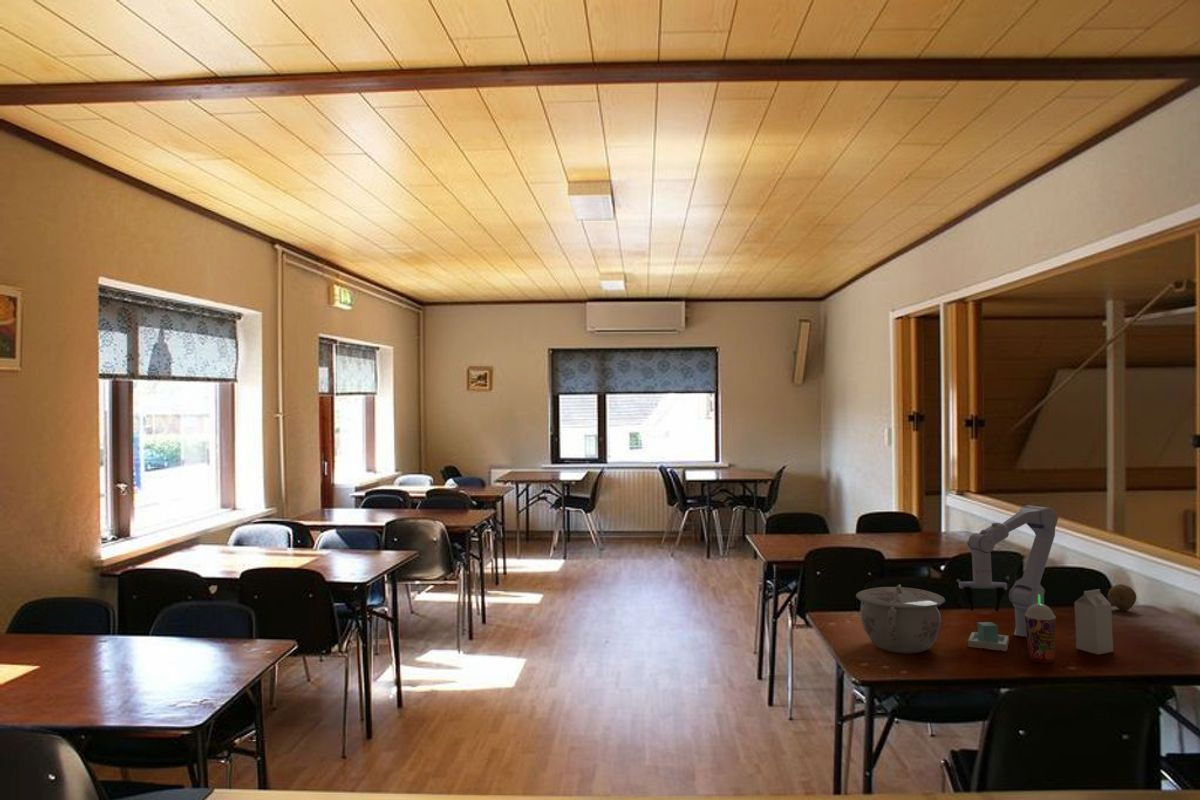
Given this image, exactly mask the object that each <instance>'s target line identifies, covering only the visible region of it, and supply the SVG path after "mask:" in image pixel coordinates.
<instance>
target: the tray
mask: <svg viewBox="0 0 1200 800" xmlns="http://www.w3.org/2000/svg"><path fill="white" fill-rule="evenodd" d="M1009 636H1010V635H1004V634H998V643H995V642H986V641H978V631H977V632H976V631H971V633H970V636H969V638H968V639H967V640H968V641H967V642H968V647H969V648H973V649H974V648H976V649H977V648H978V649H983V648H984V650H992V651H1000V650H1001V651H1003V652H1007V651H1008V648H1009V647H1008V646H1009V643H1010V641H1009V640H1010V639H1009V638H1010V637H1009ZM985 648H986V649H985Z"/></svg>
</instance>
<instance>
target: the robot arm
mask: <svg viewBox="0 0 1200 800" xmlns="http://www.w3.org/2000/svg"><path fill="white" fill-rule="evenodd" d="M1058 521H1059V516H1058V515H1057V513H1056V510H1054V508H1051V507H1048V506H1047V507H1045V506H1036V505H1032V504H1027V505H1024V506H1023V507H1021V508H1019V511H1018V512H1016V513H1015V514H1014V515H1012V516H1011V517H1009V518H1007V519H1006V520H1005V521H1004V522H1002V523H1001V522H992V523H991V524H990V526H988V527H987V528H985V529H981V530H980V532H975V533H972V534H971V535H969V537H968V541H967V542H966V543H967V544H966V545H967V547H968V548H969V549H970V554H971V560H972V561H971V563H972V566H971V567H972V581H971V580H970V581H958V588H959V589H962V591H963V593H964V595H965V597H966V600H967V602H968V606H969V610H970V611H974V604H973V590H972V589H981V590H982V589H986V590H987V589H988V590H989V589H991V590H993V597H994V598H993V600H994V607H993V608H994V611H995V612H999V609H1000V608H999V607H1000V603H1001V601H1002V598H1003V596H1004V594H1005V590H1008V583H1007V582H1001V581H993V573H992V571H993V570H992V554H991V552H993V550H994V548H995V546H996V545H997V544H1000V543H1001V542H1003V540H1005V539H1007V538H1008V537H1009V534H1010V532H1012V531H1014V530H1016V529H1018V528H1020V527H1022V526H1023V525H1027V526H1028V527H1029V529H1031V531H1033V532H1034V534H1035V537H1034V539H1033V543H1032V546H1031V548H1030V549H1031V550H1030V552H1029V555H1028V558H1027V562H1026V564H1025V568H1024V571H1023V574H1022V577H1021V578H1019V579H1017V580H1015V581H1014V583H1013V586H1012V587H1011V588H1010V590H1009V592H1008V599H1009V600H1010V602H1011V603H1012V605H1013V607H1014V616H1015V617H1014V619H1015V629H1014V633H1013V635H1014V636H1015V637H1026V638H1027V632H1026V623H1025V615H1024V614H1025V613H1026V611H1027V609H1028V608H1029V607H1030V606H1031V605H1033V604H1036V603H1038V595H1040V602H1041V604H1044V605H1045V592H1046V590H1045V588H1044V587H1043V586H1042V585H1041V582H1042V581H1041V580H1042V578H1043V575H1044V572H1045V568H1046V565H1047V563H1048V558H1049V556H1050V552H1051V549H1052V547H1053V543H1054V540H1055V536H1056V527H1057V524H1058Z"/></svg>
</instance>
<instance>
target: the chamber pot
mask: <svg viewBox="0 0 1200 800" xmlns="http://www.w3.org/2000/svg"><path fill="white" fill-rule="evenodd" d="M855 598H857V600H859V601H860V602H863V605H862V606H861V609H860V612H861V613H860V614H861V622H862V627H863V630H864V632H865V634H866V635H867V637H868V638H869V640H870V641H871V643H873V645H874V646H876V647H877V648H879V649H882V650H883V651H886V652H889V651H890V652H891V653H894V652H895V654H902V653H903V654H904V655H907V654H908V655H909V654H911V655H912V654H918V653H922V652H926V651H928V650H929V649H930V648H931V647H933V645H934V644H935V642H936V640H937V639H938V638H939V636H940V631H941V626H942V614H941V613H940V611H939V609H938V606H941V605H943V604H944V603H945V602H946V600H945V597H944V596H942V595H940V594H938V593H935V592H932V591H928V590H925V589H921V588H914V587H913V588H912V587H906V586H905V587H902V584H900V583H899V584H897V586H881V587H872V588H867V589H864V590H863V589H862V590H860V591H858V592H857V593H856V595H855ZM903 654H902V655H903Z"/></svg>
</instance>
